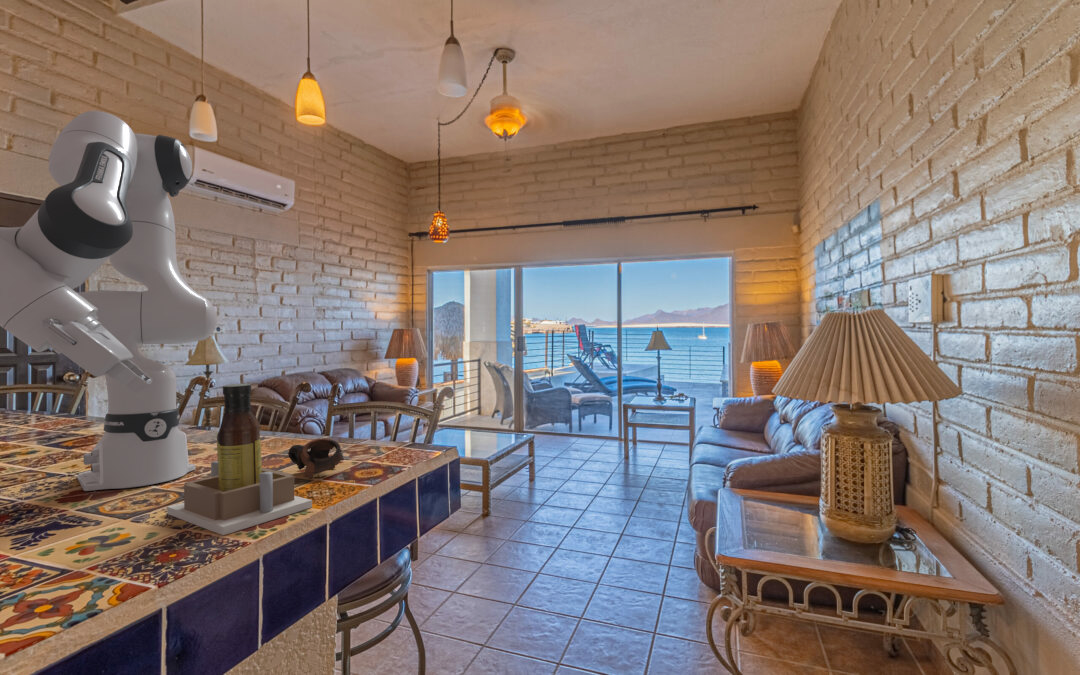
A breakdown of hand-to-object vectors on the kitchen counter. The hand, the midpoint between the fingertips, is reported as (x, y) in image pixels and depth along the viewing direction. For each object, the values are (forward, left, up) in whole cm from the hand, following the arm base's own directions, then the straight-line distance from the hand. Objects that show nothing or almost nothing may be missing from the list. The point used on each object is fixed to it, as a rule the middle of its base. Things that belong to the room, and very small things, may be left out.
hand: (146, 386), depth 75 cm
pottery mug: (-6, +32, -22) cm, 39 cm away
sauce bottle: (+5, +11, -20) cm, 24 cm away
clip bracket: (+5, +11, -21) cm, 25 cm away
